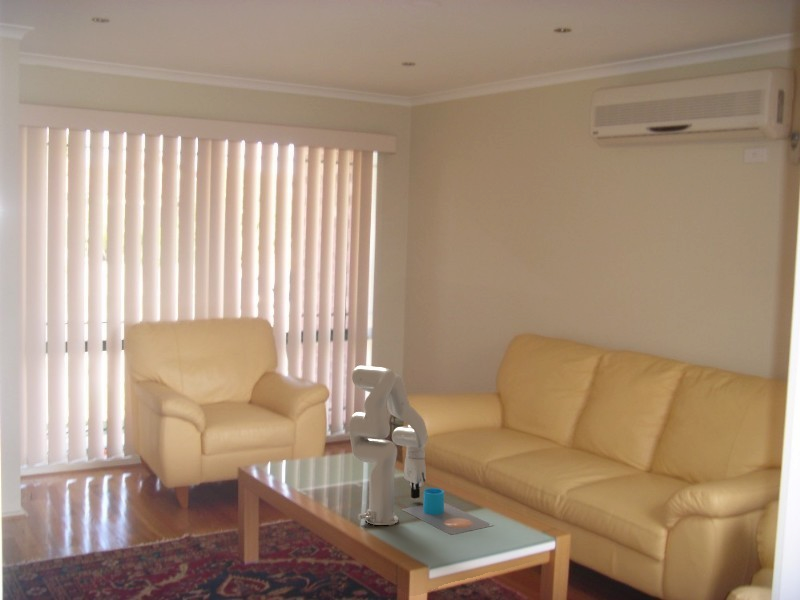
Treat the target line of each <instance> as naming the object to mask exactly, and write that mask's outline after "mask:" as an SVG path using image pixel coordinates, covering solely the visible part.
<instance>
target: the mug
mask: <svg viewBox="0 0 800 600" xmlns="http://www.w3.org/2000/svg"><path fill="white" fill-rule="evenodd" d="M444 503H445V490H443V489H441V488H437V487H436V488H435V487H434V488H432V487H431V488H430V487H429V488H425V489H424V490H423V504H422V505H423V512H424V513H426V514H431V515H438V514H442V513H443V512H444Z"/></svg>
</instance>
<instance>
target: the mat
mask: <svg viewBox="0 0 800 600" xmlns="http://www.w3.org/2000/svg"><path fill="white" fill-rule="evenodd" d="M423 505H424V504H422V505H420V504H419V505H417V506H416V505H415V506H410V507H406V508H401V509H400V510H401V511H403V512H404V513H407V514H409V515H411V516H413V517H415V518H417V519H418V520H421V521H423V522H425V523H427V524H429V525H431V526H433V527H434V528H437V529H438V530H441V531H443V532H444V533H447V534H448V535H450V536H452V535H457V534H461V533H466V531H467V532H471V531H475V530H479V529H483V528H484V529H485V528H489V527H490V526H489V525H490V524H491V523H490V524H489V522H487V521H485V520H484V519H481V518H479V517H477V516H475V515H472V514H470V513H468V512H466V511H464V510H461V509H459V508H457V507H454V506H453V505H451V504H448V503H447V502H444V512H443V513H442V514H438V515H431V514H426V513H424V512H423Z"/></svg>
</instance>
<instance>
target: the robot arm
mask: <svg viewBox="0 0 800 600" xmlns="http://www.w3.org/2000/svg"><path fill="white" fill-rule="evenodd" d="M351 380H352V383H353V385H354V386H355V387H356V388H358V389H361V390H364V391H366V392H369V395H368V396H366V399H365V400H364V402H363V403H364V404H363V408H364V411H357V412H354V413H353V414H351V416H350V419H349V422H348V433H349V434H348V435H349V439H350V446H351V451H352V456H353V457H354V459H355V460H357V461H358V462H362V463H367V464H372V465H375V466H374V468H373V469H372V470H371V472H369V473H370V474H369V481H368V482H369V484H368V485H369V493H368V495H369V498H368V501H369V502H368V503H369V505H368V509H366V512H364V513H358V514H357V519H358V520H363V519H364V521H365V520H366V521H367V522H369V523H372V524H377V525H389V526H393V525H395V523H396V524H397V523H398V521H399V517H398V515H395V470H396V461H397V456H398V447H397V446H401V447H406V453H405V454H406V455H405V458H404V468H403V478H404V479H405V480H406V481H408V482H409V487H410V497H411V498H412V499H419V498H420V496H421V495H420V493H421V492H420V491H421V487H424V486H425V482H427V480H426V479H427V468H426V456H425V455H426V453H425V452H426V451H425V449H426V447H425V446H426V445H427V443H428V431H427V426H426V423H425V421H424V419H423V417H422V415H420V414H419V413H418V411H416V410H415V408H413V406H411V405H410V402H409V398H408V395H407V391H406V386H405V381H404V379H403V377H402V376H401V375H400V374H397V373H395V371H394V370H392V369H390V368H388V367H383V366H374V365H373V366H370V365H357V366H356V367H355V368H354V369H353V371H352V374H351ZM389 413H390V415H392V416H393V417H395V418H396V419H398V420H399V421H402V422H404V423H405V424H407V425H404V426H403V425H402V426H398V427H396V428H394V430H393V431H392V434H391V439H392V441H391V440H388V439H386V438H387V437H388V436H389V435H390V431H391V430H390V429H391V427H390V419H389Z"/></svg>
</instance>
